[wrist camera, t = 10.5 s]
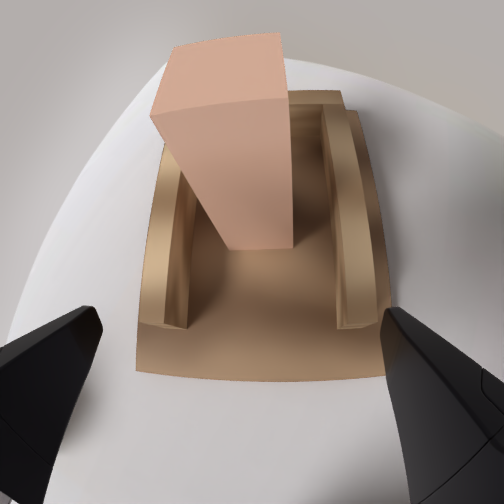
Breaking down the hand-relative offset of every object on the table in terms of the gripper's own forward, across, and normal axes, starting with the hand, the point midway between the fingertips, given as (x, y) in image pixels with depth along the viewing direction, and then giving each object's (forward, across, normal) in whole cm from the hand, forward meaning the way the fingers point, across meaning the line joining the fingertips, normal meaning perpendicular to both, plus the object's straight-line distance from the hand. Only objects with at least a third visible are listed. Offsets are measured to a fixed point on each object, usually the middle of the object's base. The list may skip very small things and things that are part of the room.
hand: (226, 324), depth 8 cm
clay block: (+12, 0, +1) cm, 12 cm away
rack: (+12, 0, +2) cm, 13 cm away
